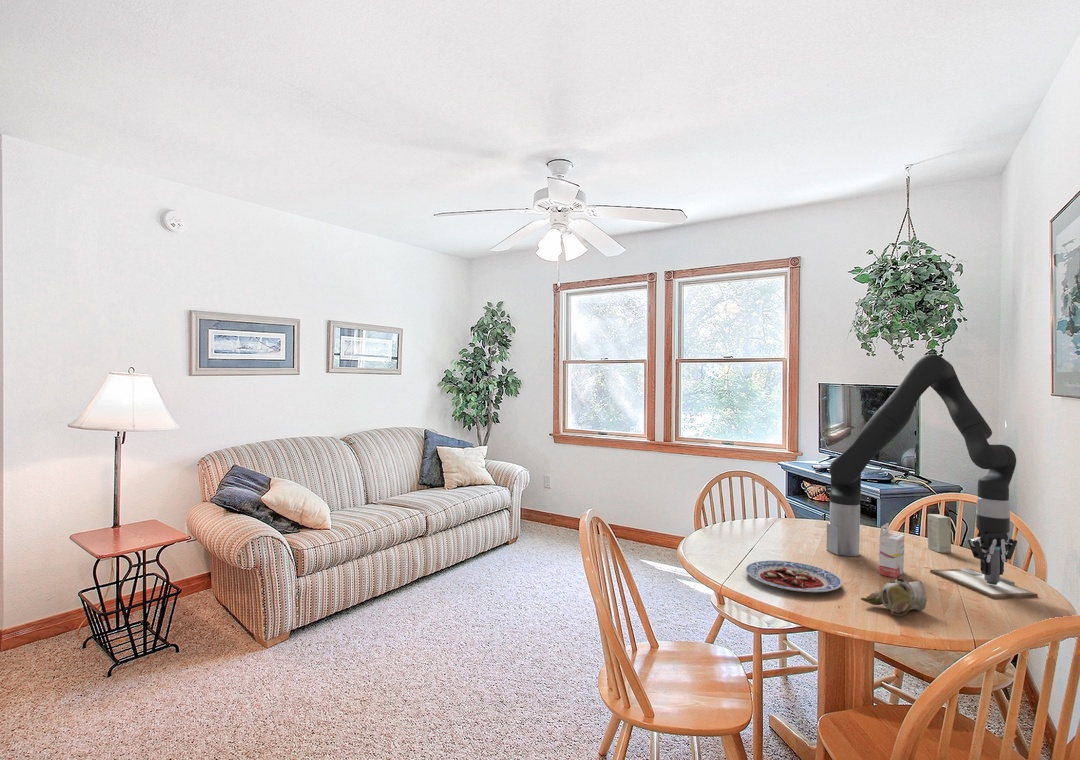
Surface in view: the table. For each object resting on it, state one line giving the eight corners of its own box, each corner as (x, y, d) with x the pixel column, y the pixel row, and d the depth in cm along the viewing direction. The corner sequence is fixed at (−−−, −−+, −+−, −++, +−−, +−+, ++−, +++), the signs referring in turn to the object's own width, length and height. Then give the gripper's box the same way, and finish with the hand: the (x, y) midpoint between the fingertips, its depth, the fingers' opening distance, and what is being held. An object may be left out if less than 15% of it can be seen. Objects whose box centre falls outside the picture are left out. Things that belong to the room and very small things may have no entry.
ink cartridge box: (897, 578, 168) (898, 529, 168) (878, 574, 172) (879, 526, 172) (904, 572, 174) (905, 524, 174) (886, 568, 178) (887, 521, 178)
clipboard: (992, 598, 153) (992, 592, 153) (930, 572, 174) (930, 566, 174) (1037, 597, 155) (1037, 590, 155) (970, 571, 176) (970, 565, 176)
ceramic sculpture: (940, 581, 141) (893, 590, 137) (941, 615, 141) (894, 625, 137) (902, 568, 151) (857, 575, 147) (903, 600, 151) (859, 608, 147)
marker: (992, 585, 159) (992, 547, 159) (981, 581, 162) (981, 544, 162) (1003, 585, 159) (1003, 547, 159) (991, 580, 163) (992, 543, 163)
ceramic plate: (806, 606, 147) (807, 594, 147) (727, 576, 169) (727, 566, 169) (860, 588, 161) (860, 577, 161) (780, 562, 182) (780, 553, 182)
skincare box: (951, 553, 194) (952, 518, 194) (939, 553, 194) (939, 517, 194) (938, 547, 201) (939, 513, 201) (926, 547, 201) (927, 513, 201)
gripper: (982, 517, 156) (981, 579, 156) (1027, 516, 158) (1026, 578, 158) (959, 511, 164) (958, 570, 164) (1002, 510, 165) (1002, 569, 165)
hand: (992, 573), depth 161 cm, fingers closed on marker, 3 cm apart
